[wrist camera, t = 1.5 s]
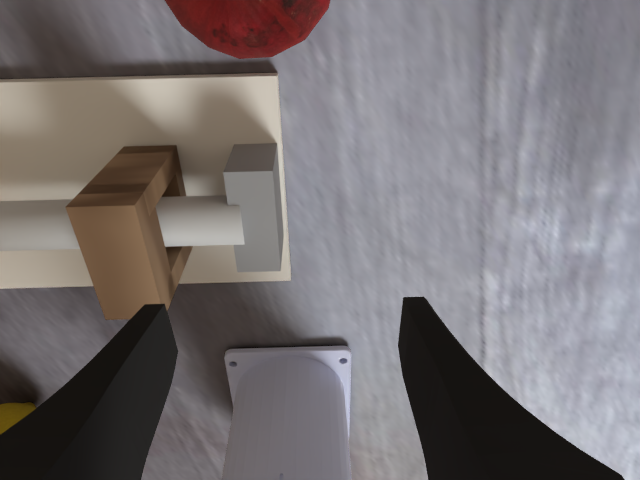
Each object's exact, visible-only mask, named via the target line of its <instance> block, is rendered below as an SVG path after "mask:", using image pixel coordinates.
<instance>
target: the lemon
mask: <svg viewBox="0 0 640 480" xmlns="http://www.w3.org/2000/svg"><path fill="white" fill-rule="evenodd" d="M35 409H36V407H35V405H34V404H33V403H31V402H27V403H4V404H0V434H2V433H3V432H5V431H6V430H7V429H9V428H10V427H12V426H13V425H14V424H16V423H17V422H18V421H20V420H21V419H23V418H24V417H25V416H27V415H28V414H30V413H31V412H32V411H34V410H35Z"/></svg>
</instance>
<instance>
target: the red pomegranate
mask: <svg viewBox="0 0 640 480" xmlns="http://www.w3.org/2000/svg"><path fill="white" fill-rule="evenodd" d="M165 1H166V3H167V4H168V6H169V7H170V9H171V10H172V12H173V13H174V15H175V16H176V18H177V19H178V21H179V22H180V24H181V25H182V26H183V27H184V28H185V29H186V30H188V31H189V32H190V33H191V34H193V35H194V36H195V37H196V38H198V39H199V40H200V41H201V42H203V43H204V44H205V45H207V46H208V47H209V48H212V49H214V50H217V51H220V52H222V53H225V54H228V55H230V56H233V57H236V58H239V59H244V58H262V57H273V56H275V55H277V54H278V53H280V52H282V51H284V50H286V49H288V48H290V47H292V46H294V45H296V44H298V43H300V42H301V41H303V40H305V39H306V38H307V36H308V35H309V34H310V32H311V31H312V30H313V28H314V27H315V26H316V24H317V23H318V22H319V20H320V19H321V17H322V16H323V15H324V13H325V12H326V11H327V9H328V8H329V3H330V0H165Z"/></svg>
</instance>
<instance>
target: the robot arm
mask: <svg viewBox="0 0 640 480" xmlns="http://www.w3.org/2000/svg"><path fill="white" fill-rule="evenodd" d="M398 348H399V355H400V362H401V368H402V374H403V379H404V383H405V386H406V390H407V394H408V397H409V401H410V405H411V408H412V412H413V416H414V419H415V423H416V426H417V430H418V434H419V437H420V441H421V445H422V449H423V453H424V457H425V463H426V468H427V474H428V480H624V478H623V477H622V475H620V474H619V473H617V472H615V471H614V470H612V469H611V468H609V467H607V466H606V465H604V464H602V463H601V462H599V461H598V460H596V459H594V458H593V457H591V456H590V455H588V454H586V453H585V452H583V451H582V450H580V449H579V448H577V447H576V446H574V445H573V444H571V443H570V442H568V441H567V440H566V439H564V438H563V437H561V436H560V435H558V434H557V433H556V432H554V431H553V430H552V429H550V428H549V427H548V426H546V425H545V424H544V423H542V422H541V421H540V420H539V419H537V418H536V417H535V416H534V415H532V414H531V413H530V412H528V411H527V410H526V409H525V408H523V407H522V406H521V405H520V404H519V403H518V402H517V401H515V400H514V399H513V398H512V397H511V396H510V395H509V394H508V393H506V392H505V391H504V390H503V389H502V388H501V387H500V386H499V385H498V384H497V383H496V382H495V381H494V380H493V379H492V378H491V377H490V376H489V375H488V374H487V373H486V372H485V371H484V370H483V369H482V368H481V367H480V366H479V365H478V364H477V363H476V362H475V360H474V359H473V358H472V357H471V356H470V355H469V354H468V353H467V351H466V350H465V349H464V348H463V347H462V345H461V344H460V343H459V342H458V341H457V339H456V338H455V337H454V336H453V335H452V333H451V332H450V331H449V330H448V328H447V327H446V326H445V324H444V323H443V322H442V320H441V319H440V318H439V316H438V315H437V314H436V312H435V311H434V310H433V308H432V307H431V305H430V304H429V302H428V301H427V300H426V299H425V298H424V297H403V305H402V315H401V324H400V333H399V342H398ZM177 354H178V349H177V346H176V342H175V338H174V335H173V331H172V328H171V324H170V320H169V317H168V313H167V310H166V306H165V304H145V305H144V306H143V307H142V308H141V309H140V310H139V311H138V312H137V313H136V314H135V315H134V316H133V317H132V318H131V319H130V320H129V321H128V322H127V323H126V325H125V326H124V327H123V328H122V329H121V330H120V331H119V332H118V333H117V334H116V335H115V336H114V337H113V338H112V339H111V341H110V342H109V343H108V344H107V345H106V346H105V347H104V348H103V349H102V350H101V351H100V352H99V353H98V354H97V355H96V356H95V357H94V358H93V359H92V360H91V361H90V362H89V363H88V364H87V365H86V366H85V367H84V368H82V369H81V370H80V371H79V372H78V373H77V374H76V375H75V376H74V377H73V378H72V379H71V380H70V381H69V382H67V383H66V384H65V385H64V386H63V387H62V388H61V389H59V390H58V391H57V392H56V393H55V394H54V395H52V396H51V397H50V398H49V399H47V400H46V401H45V402H44V403H42V404H41V405H40V406H39V407H37V408H36V409H35V410H34V411H32V412H31V413H30V414H28V415H27V416H25V417H24V418H23V419H21V420H20V421H18V422H17V423H16V424H14V425H13V426H12V427H10V428H9V429H7V430H6V431H5V432H3V433H2V434H0V480H141V477H142V473H143V468H144V465H145V462H146V458H147V455H148V451H149V449H150V446H151V443H152V440H153V437H154V434H155V431H156V428H157V425H158V422H159V419H160V416H161V413H162V411H163V408H164V405H165V402H166V399H167V396H168V393H169V390H170V386H171V383H172V379H173V374H174V370H175V365H176V359H177ZM341 358H346V359H341ZM224 360H225V365H226V371H227V376H228V381H229V387H230V392H231V398H232V403H233V414H232V420H231V426H230V432H229V438H228V444H227V450H226V456H225V462H224V468H223V474H222V480H352V478H351V466H350V453H349V441H348V439H349V425H350V386H351V349H350V348H349V347H347V346H315V347H280V348H245V349H229V350H227V351H226V352H225V356H224ZM232 361H234V362H232Z"/></svg>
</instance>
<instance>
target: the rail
mask: <svg viewBox="0 0 640 480" xmlns="http://www.w3.org/2000/svg"><path fill="white" fill-rule="evenodd" d="M163 145H177V151H178V156H179V161H180V166H181V171H182V176H183V181H184V186H185V191H186V196H177V197H161V198H160V200H159V201H158V203H157V205H156V206H155V207H156V211H157V215H158V219H159V224H160V228H161V232H162V236H163V240H164V244H165V247H171V246H193V248H192V250H191V253H190V255H189V258H188V260H187V263H186V265H185V268H184V270H183V273H182V276H181V278H180V281H179V283H178V284H189V283H225V282H262V281H291V266H290V250H289V235H288V220H287V204H286V189H285V174H284V158H283V143H282V128H281V112H280V97H279V81H278V73H249V74H207V75H165V76H124V77H82V78H40V79H0V289H7V288H43V287H80V286H93V283H92V280H91V277H90V275H89V272H88V269H87V266H86V263H85V261H84V258H83V255H82V252H81V250H80V247H79V244H78V241H77V238H76V236H75V233H74V230H73V227H72V225H71V222H70V219H69V216H68V213H67V211H66V208H65V207H66V206H67V205H68V204H69V203H70V202H71V201H72V200H73V199H74V198H75V197H76V196H77V195H78V193H79V192H80V191H81V190H82V189H83V188H84V187H85V186H86V185H87V184H88V183H89V182H90V181H91V180H92V179H93V178H94V177H95V176H96V175H97V174H98V173H99V172H100V171H101V170H102V169H103V168H104V167H105V166H106V164H107V163H108V162H109V161H110V160H111V159H112V158H113V157H114V156H115V155H116V154H117V153H118V152H119V151H120V150H121V149H122V148H123V147H124V146H163Z"/></svg>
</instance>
